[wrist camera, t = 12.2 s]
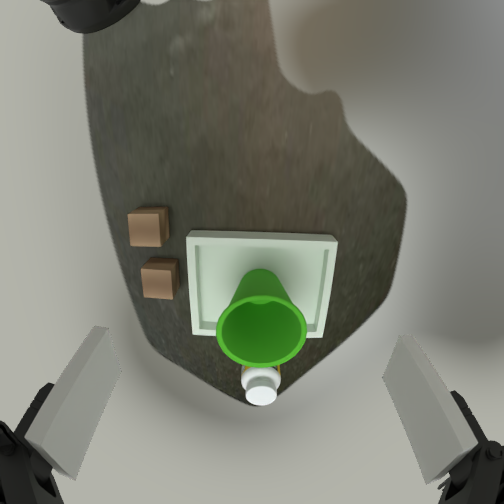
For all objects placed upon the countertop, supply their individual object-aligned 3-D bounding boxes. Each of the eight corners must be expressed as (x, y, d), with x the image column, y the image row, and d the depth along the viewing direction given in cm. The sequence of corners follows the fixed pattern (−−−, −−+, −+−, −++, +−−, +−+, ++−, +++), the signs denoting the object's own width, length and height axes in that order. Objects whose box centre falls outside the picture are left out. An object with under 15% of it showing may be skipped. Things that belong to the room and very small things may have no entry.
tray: (191, 230, 36) (186, 237, 33) (331, 234, 36) (337, 242, 34) (196, 322, 41) (192, 334, 38) (318, 325, 41) (322, 337, 38)
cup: (253, 325, 40) (252, 380, 30) (211, 279, 38) (196, 327, 27) (307, 291, 38) (323, 341, 28) (267, 239, 36) (272, 277, 25)
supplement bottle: (281, 338, 42) (286, 384, 33) (274, 364, 44) (277, 410, 35) (245, 334, 42) (243, 380, 33) (240, 361, 44) (237, 407, 34)
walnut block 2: (150, 257, 38) (140, 268, 34) (178, 258, 38) (170, 270, 34) (153, 283, 39) (144, 296, 35) (180, 285, 39) (172, 299, 35)
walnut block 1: (139, 207, 35) (127, 214, 32) (168, 206, 35) (158, 213, 32) (141, 236, 37) (130, 245, 33) (169, 236, 37) (160, 246, 33)
